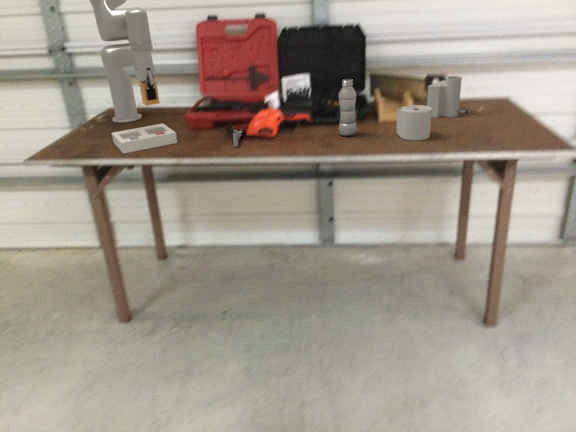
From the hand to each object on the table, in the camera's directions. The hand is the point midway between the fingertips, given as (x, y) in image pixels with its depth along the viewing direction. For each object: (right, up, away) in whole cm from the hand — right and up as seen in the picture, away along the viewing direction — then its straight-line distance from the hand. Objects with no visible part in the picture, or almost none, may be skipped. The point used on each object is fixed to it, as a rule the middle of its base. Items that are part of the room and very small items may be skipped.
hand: (150, 98), depth 188 cm
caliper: (+33, -15, +3) cm, 37 cm away
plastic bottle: (+73, -14, +1) cm, 74 cm away
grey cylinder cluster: (+116, -3, +17) cm, 117 cm away
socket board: (-3, -16, +5) cm, 17 cm away
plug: (0, -2, +1) cm, 2 cm away
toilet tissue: (+95, -15, -5) cm, 97 cm away
